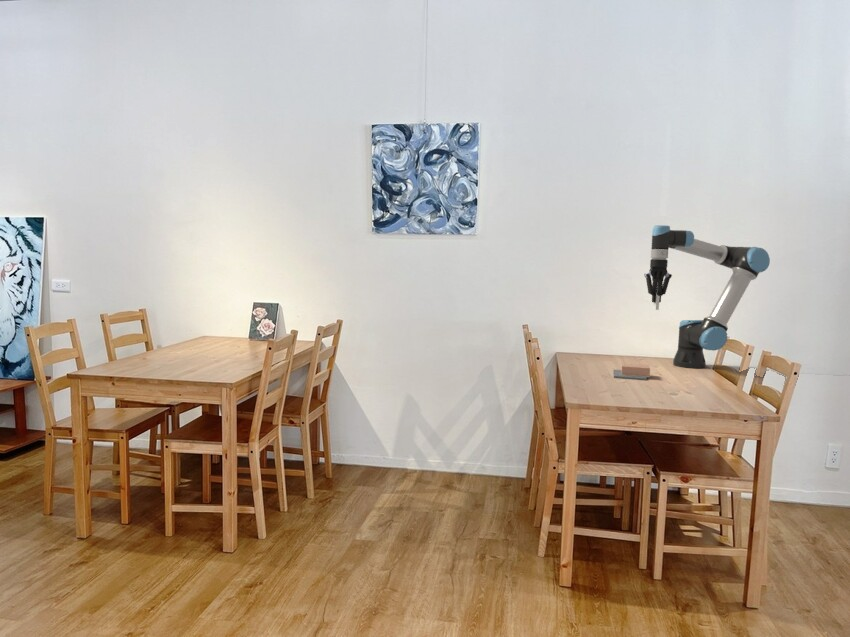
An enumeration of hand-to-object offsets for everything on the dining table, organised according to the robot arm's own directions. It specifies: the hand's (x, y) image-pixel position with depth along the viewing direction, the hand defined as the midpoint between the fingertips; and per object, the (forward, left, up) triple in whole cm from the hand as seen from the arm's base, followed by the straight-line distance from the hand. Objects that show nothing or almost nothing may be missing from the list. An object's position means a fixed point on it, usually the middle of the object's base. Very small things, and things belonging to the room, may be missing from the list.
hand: (655, 309), depth 309 cm
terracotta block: (+9, +13, -27) cm, 31 cm away
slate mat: (+16, +10, -29) cm, 35 cm away
